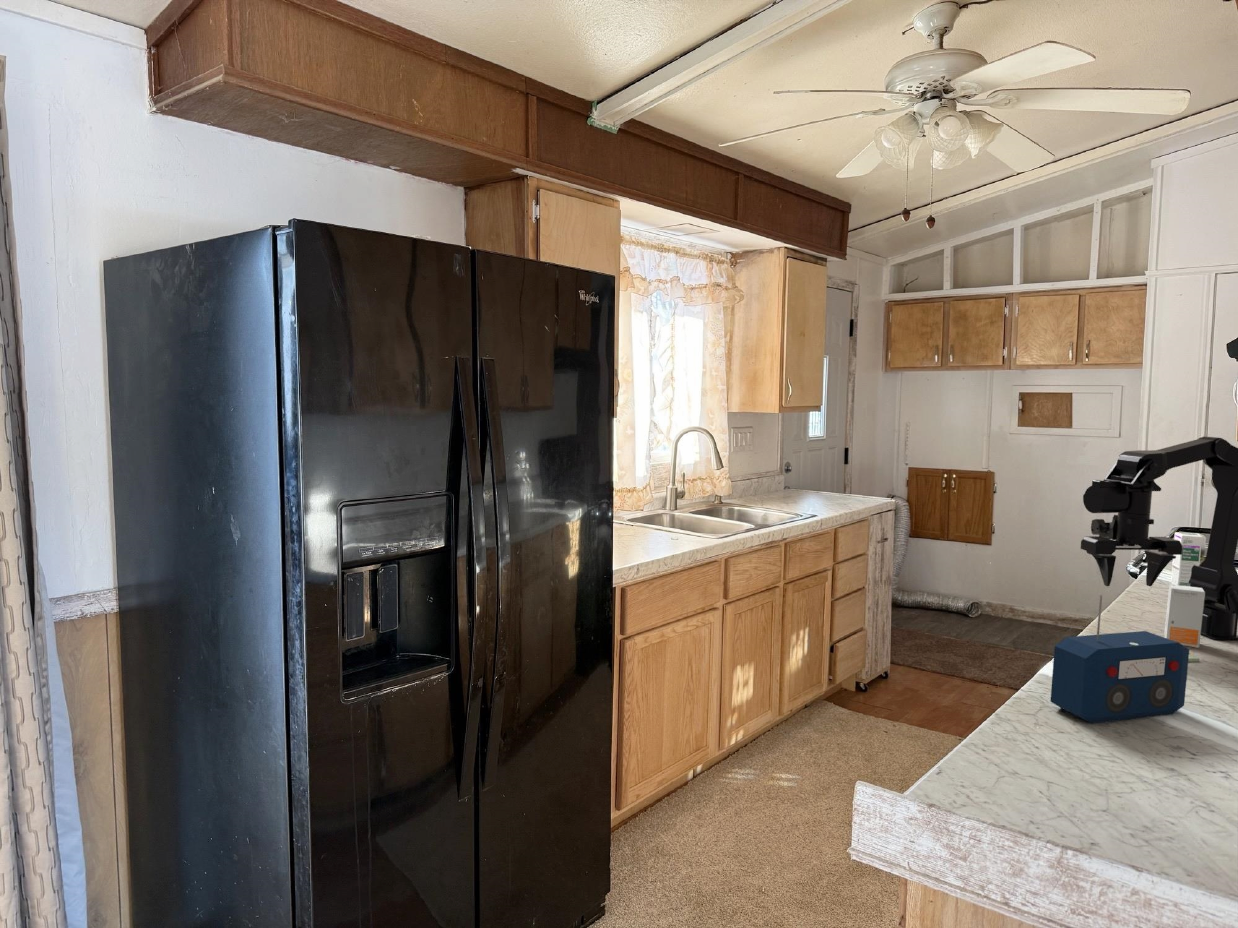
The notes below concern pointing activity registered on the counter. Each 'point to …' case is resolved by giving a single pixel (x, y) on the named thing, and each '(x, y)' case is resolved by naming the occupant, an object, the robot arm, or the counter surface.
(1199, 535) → the syrup box
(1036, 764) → the counter surface
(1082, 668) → the radio
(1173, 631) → the skincare box
